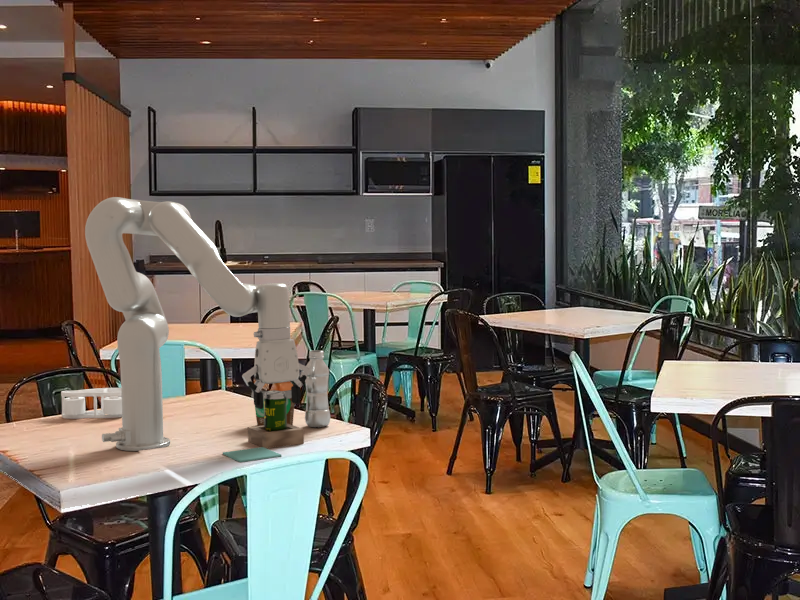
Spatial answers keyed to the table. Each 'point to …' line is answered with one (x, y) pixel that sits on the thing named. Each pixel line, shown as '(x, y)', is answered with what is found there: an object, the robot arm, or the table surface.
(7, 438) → the table surface
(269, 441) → the walnut socket block
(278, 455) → the teal mat
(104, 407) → the white slotted holder
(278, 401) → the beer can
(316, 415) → the plastic bottle
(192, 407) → the table surface
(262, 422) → the food container
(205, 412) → the table surface
